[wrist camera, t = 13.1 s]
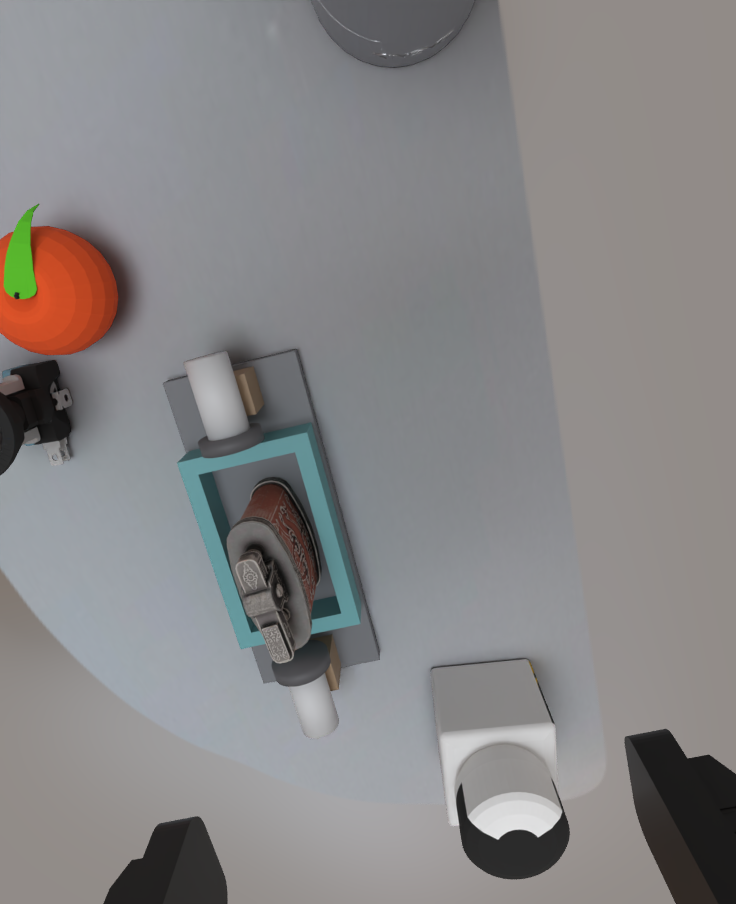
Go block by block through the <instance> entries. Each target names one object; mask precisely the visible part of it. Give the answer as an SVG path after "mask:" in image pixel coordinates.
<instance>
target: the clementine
mask: <svg viewBox="0 0 736 904" xmlns="http://www.w3.org/2000/svg"><path fill="white" fill-rule="evenodd" d="M38 205H39V204H37V205H36V206H34V207H32V208H31V209H29V210H27V212H26V213H25V214H24V215H23V217H22V218H21V219H20V220H19V222H18V224H17V226H16V228H15V230H14V232H11V233H8V234H7V235H6V236H4V237H3V238H2V239H0V333H1V334H2V335H4V336H5V337H6V338H7V339H9V340H10V341H11V342H13V343H14V344H16V345H18V346H20V347H22V348H24V349H26V350H28V351H30V352H35V353H39V354H44V355H67V354H73V353H76V352H79V351H82V350H85V349H86V348H88V347H89V346H91V345H92V344H94V343H95V342H96V341H98V340H99V339H101V338H102V337H103V336H104V335H105V333H106V332H107V331H108V330H109V328H110V327H111V325H112V323H113V320H114V318H115V315H116V313H117V304H118V292H117V285H116V280H115V278H114V275H113V273H112V270H111V268H110V266H109V264H108V263H107V261H106V260H105V259H104V257H103V256H102V254H101V253H100V252H99V251H98V250H97V249H96V248H95V247H94V246H92V245H91V244H90V243H89V242H88V241H86V240H84V239H83V238H81V237H79V236H77V235H75V234H73V233H71V232H68V231H66V230H63V229H58V228H54V227H50V226H40V227H31V221H32V217H33V212H34V211H35V209H36V208H37V207H38Z"/></svg>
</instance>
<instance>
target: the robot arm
mask: <svg viewBox="0 0 736 904" xmlns="http://www.w3.org/2000/svg"><path fill="white" fill-rule="evenodd" d="M474 1H475V0H311V2H312V4H313V7H314V9H315V11H316V14H317V16H318V18H319V21H320V22H321V24H322V25H323V27H324V28H325V30H326V31H327V33H328V34H329V35H330V37H331V38H332V39H333V40H334V41H335V42H336V43H337V44H338V45H339V46H340V47H341V48H342V49H343V50H344V51H346V52H348V53H349V54H351V55H352V56H354V57H356V58H357V59H359V60H361V61H364V62H367V63H370V64H373V65H376V66H385V67H400V66H407V65H413V64H415V63H418V62H420V61H423V60H425V59H428V58H430V57H431V56H433V55H434V54H435V53H437V52H438V51H440V50H441V49H443V48H444V47H445V46H446V45H447V44H448V43H449V42H450V41H451V40H452V39H453V38H454V37H455V36H456V35H457V34H458V32H459V31H460V29H461V27H462V26H463V24H464V23H465V21H466V19H467V18H468V16H469V14H470V11H471V9H472V6H473V4H474ZM625 748H626V755H627V761H628V767H629V774H630V780H631V786H632V792H633V799H634V804H635V809H636V813H637V816H638V819H639V823H640V826H641V828H642V831H643V834H644V836H645V839H646V841H647V843H648V846H649V848H650V850H651V852H652V854H653V856H654V858H655V860H656V862H657V865H658V867H659V869H660V871H661V873H662V875H663V877H664V880H665V882H666V884H667V886H668V888H669V890H670V892H671V894H672V897H673V899H674V901H675V903H676V904H736V774H735V773H733V772H732V771H731V770H729V769H728V768H727V767H725V766H724V765H722V764H721V763H720V762H718V761H717V760H715V759H714V758H713V757H712V756H710V755H704V756H699V757H694V758H688V759H687V757H686V756H685V754H684V752H683V751H682V749H681V748H680V746H679V745H678V743H677V741H676V740H675V738H674V737H673V735H672V734H671V732H670V731H669V730H667V729H663V730H657V731H652V732H647V733H642V734H636V735H631V736H626V737H625ZM104 904H227V885H226V880H225V876H224V873H223V871H222V868H221V865H220V863H219V860H218V858H217V855H216V853H215V850H214V848H213V845H212V842H211V840H210V837H209V835H208V832H207V830H206V827H205V825H204V822H203V821H202V819H201V818H200V817H191V818H187V819H180V820H175V821H171V822H165V823H160V824H158V825H157V826H156V828H155V829H154V831H153V833H152V836H151V838H150V841H149V844H148V846H147V849H146V851H145V854H144V857H143V858H142V859H136V860H132V861H131V862H130V863H129V864H128V866H127V867H126V868H125V870H124V871H123V872H122V873H121V875H120V876H119V877H118V879H117V880H116V881H115V883H114V884H113V885H112V886H111V888H110V889H109V892H108V894H107V896H106V899H105V901H104Z"/></svg>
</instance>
